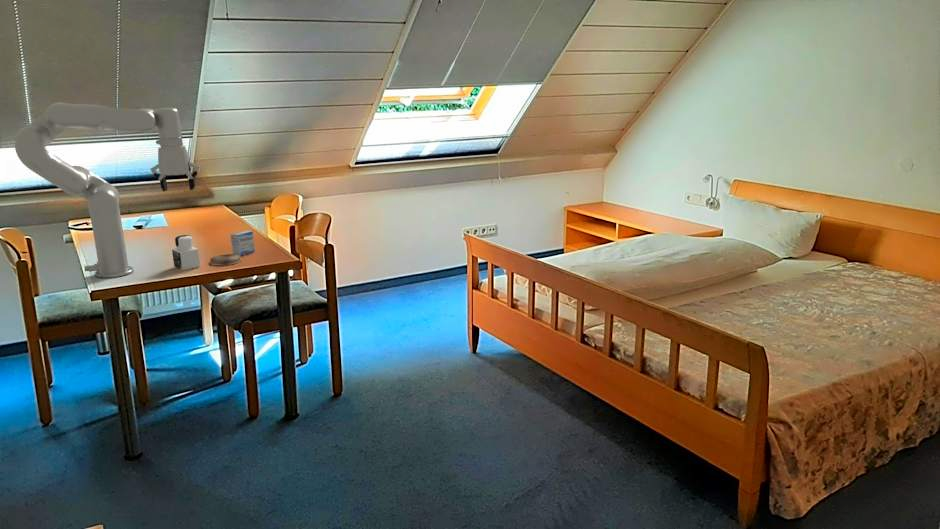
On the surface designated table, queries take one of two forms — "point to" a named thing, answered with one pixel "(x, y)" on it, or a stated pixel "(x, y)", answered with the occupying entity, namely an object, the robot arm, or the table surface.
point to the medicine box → (242, 242)
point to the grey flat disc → (225, 259)
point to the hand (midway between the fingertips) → (178, 190)
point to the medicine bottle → (185, 253)
